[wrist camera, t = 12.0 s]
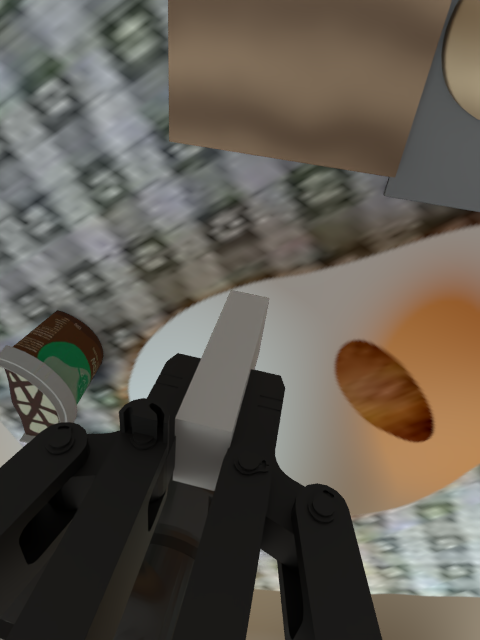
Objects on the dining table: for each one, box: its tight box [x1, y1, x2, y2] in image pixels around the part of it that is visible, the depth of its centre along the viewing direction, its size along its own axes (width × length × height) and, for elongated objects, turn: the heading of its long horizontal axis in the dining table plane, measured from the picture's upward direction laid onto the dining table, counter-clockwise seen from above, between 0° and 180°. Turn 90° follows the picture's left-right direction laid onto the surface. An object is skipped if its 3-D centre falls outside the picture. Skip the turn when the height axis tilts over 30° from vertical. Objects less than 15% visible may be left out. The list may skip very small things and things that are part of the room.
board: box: [168, 0, 452, 178], centre depth 25 cm, size 16×16×2 cm
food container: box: [0, 311, 103, 443], centre depth 44 cm, size 12×6×10 cm, turn 174°
